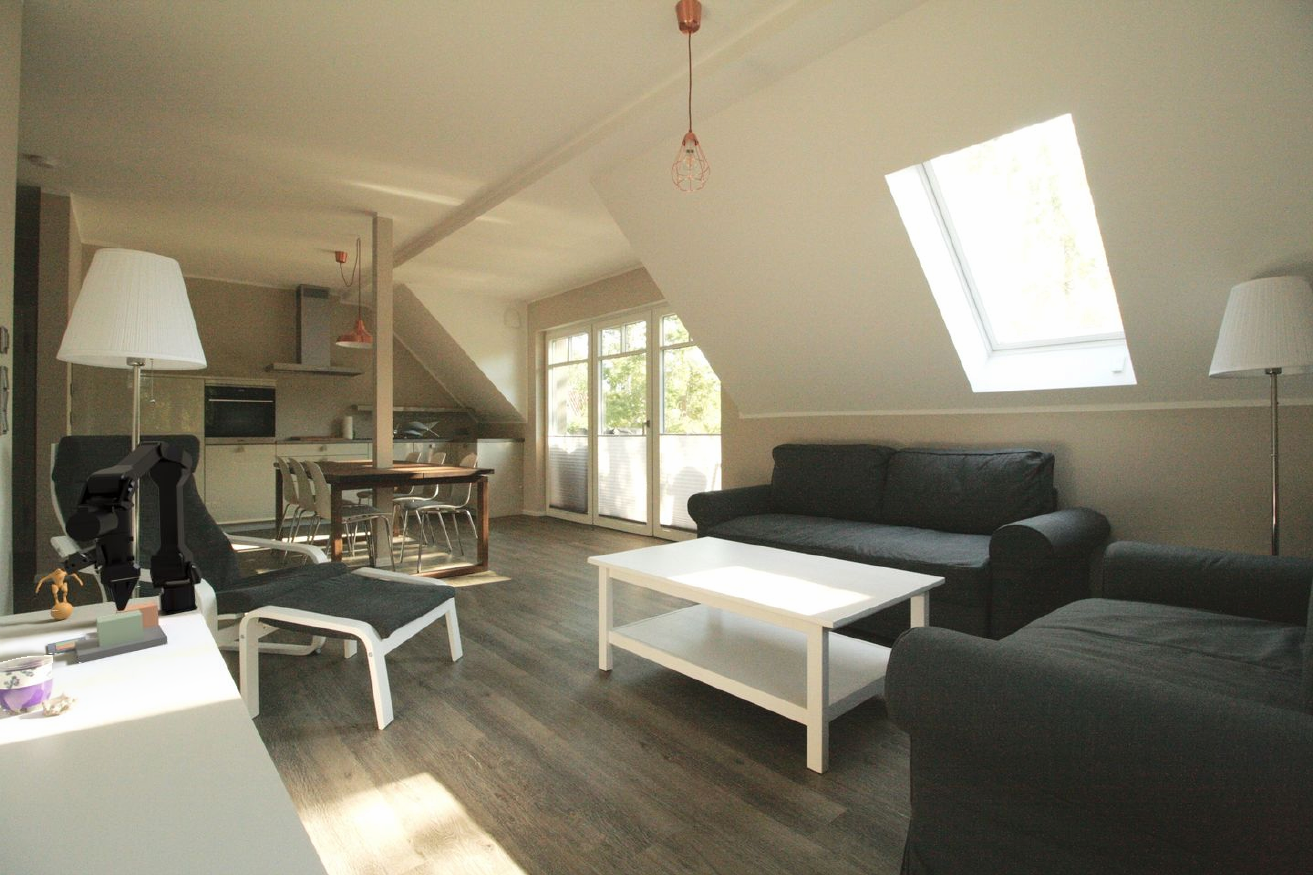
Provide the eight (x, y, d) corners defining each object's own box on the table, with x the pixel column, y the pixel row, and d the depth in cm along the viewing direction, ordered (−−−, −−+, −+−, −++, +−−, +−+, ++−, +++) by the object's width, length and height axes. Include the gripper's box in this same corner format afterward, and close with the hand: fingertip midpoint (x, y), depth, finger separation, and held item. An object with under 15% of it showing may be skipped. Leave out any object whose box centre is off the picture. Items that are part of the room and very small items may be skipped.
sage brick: (140, 632, 138) (138, 609, 138) (143, 637, 135) (142, 614, 134) (97, 640, 133) (96, 617, 133) (99, 646, 130) (98, 622, 129)
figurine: (39, 625, 149) (35, 574, 148) (36, 620, 153) (33, 570, 152) (86, 616, 155) (83, 567, 154) (83, 611, 159) (79, 563, 158)
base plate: (159, 631, 143) (159, 624, 143) (167, 643, 135) (167, 636, 135) (75, 649, 133) (74, 641, 133) (78, 663, 125) (78, 655, 125)
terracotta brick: (155, 621, 150) (154, 600, 150) (158, 626, 147) (157, 605, 146) (116, 629, 145) (115, 607, 145) (119, 634, 142) (117, 612, 142)
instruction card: (85, 637, 140) (85, 635, 140) (88, 646, 134) (87, 645, 134) (47, 645, 135) (47, 643, 135) (48, 655, 130) (48, 653, 130)
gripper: (59, 532, 134) (63, 606, 134) (63, 544, 120) (68, 626, 121) (127, 525, 141) (131, 594, 142) (138, 535, 128) (143, 612, 129)
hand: (118, 606), depth 133 cm, fingers open, 9 cm apart
